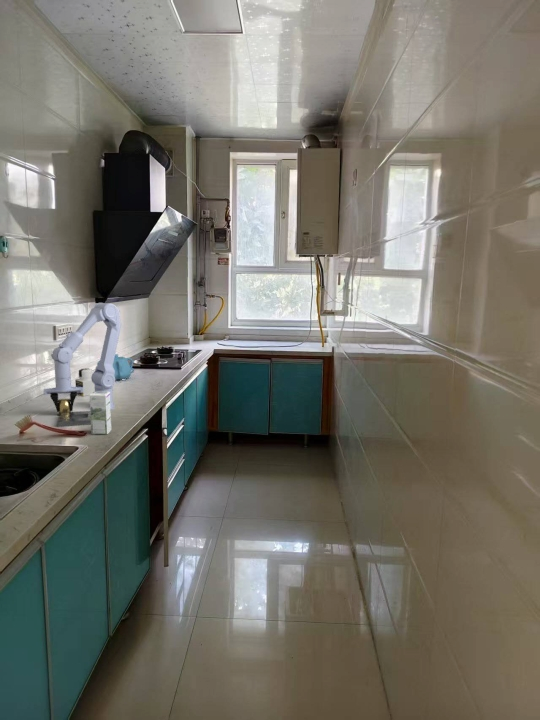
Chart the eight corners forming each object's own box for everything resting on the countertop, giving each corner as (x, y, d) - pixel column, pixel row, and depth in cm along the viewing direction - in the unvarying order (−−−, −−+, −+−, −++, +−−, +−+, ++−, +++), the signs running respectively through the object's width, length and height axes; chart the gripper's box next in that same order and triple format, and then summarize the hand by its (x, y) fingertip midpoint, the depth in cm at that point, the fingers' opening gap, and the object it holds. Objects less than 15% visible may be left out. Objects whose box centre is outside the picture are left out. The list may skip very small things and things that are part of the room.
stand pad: (57, 413, 205) (57, 413, 205) (73, 412, 207) (73, 412, 207) (56, 417, 200) (56, 416, 200) (72, 416, 202) (72, 415, 202)
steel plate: (61, 417, 200) (61, 412, 200) (99, 415, 204) (99, 410, 204) (58, 427, 187) (58, 422, 186) (98, 424, 191) (98, 419, 191)
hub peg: (59, 413, 205) (58, 398, 204) (71, 412, 206) (70, 398, 205) (58, 416, 201) (57, 401, 200) (70, 415, 202) (69, 400, 201)
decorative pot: (112, 375, 285) (111, 351, 283) (137, 377, 280) (136, 353, 278) (94, 381, 270) (92, 355, 268) (119, 383, 265) (118, 357, 263)
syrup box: (111, 430, 185) (110, 390, 183) (107, 434, 179) (105, 394, 177) (95, 429, 185) (94, 390, 182) (90, 434, 179) (89, 394, 177)
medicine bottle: (75, 394, 240) (74, 369, 238) (89, 391, 245) (88, 367, 243) (83, 396, 235) (81, 371, 233) (97, 394, 240) (96, 369, 238)
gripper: (83, 374, 207) (84, 407, 209) (44, 376, 203) (46, 409, 205) (82, 378, 200) (83, 411, 203) (42, 379, 196) (44, 414, 198)
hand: (64, 411), depth 203 cm, fingers closed on hub peg, 4 cm apart
